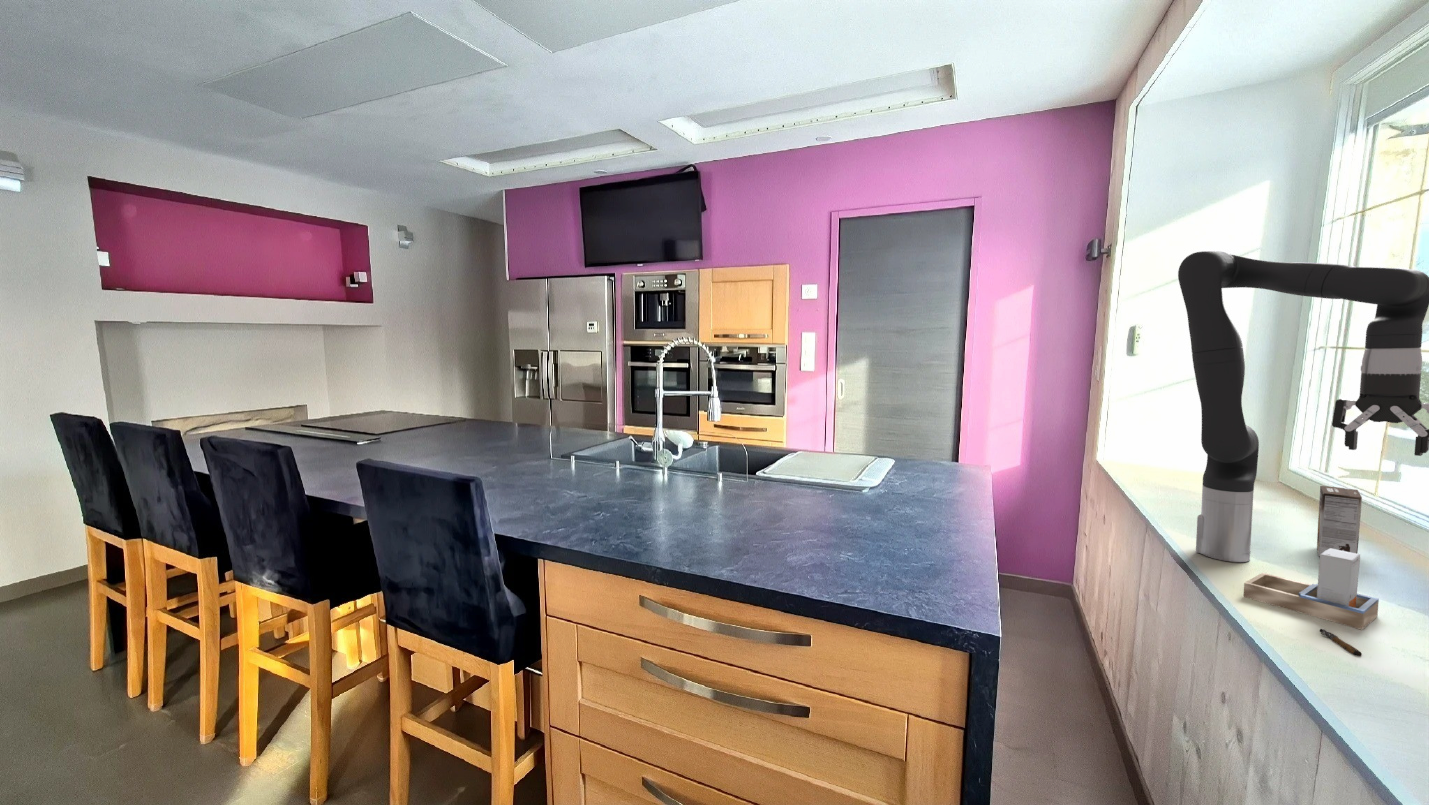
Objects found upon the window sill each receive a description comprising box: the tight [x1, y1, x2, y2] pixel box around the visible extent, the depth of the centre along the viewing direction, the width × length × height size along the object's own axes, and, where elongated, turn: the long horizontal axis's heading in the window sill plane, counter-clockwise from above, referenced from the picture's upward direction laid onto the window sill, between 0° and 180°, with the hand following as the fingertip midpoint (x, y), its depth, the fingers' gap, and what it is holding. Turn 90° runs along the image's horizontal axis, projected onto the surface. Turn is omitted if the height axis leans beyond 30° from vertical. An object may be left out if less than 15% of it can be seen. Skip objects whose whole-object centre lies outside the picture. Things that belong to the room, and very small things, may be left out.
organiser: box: [1243, 572, 1380, 631], centre depth 110 cm, size 16×10×4 cm, turn 29°
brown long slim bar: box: [1319, 628, 1363, 657], centre depth 97 cm, size 9×2×1 cm, turn 155°
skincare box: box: [1317, 548, 1361, 608], centre depth 106 cm, size 6×4×12 cm
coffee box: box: [1316, 485, 1363, 557], centre depth 134 cm, size 9×6×16 cm
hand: (1384, 452), depth 110 cm, fingers open, 8 cm apart
